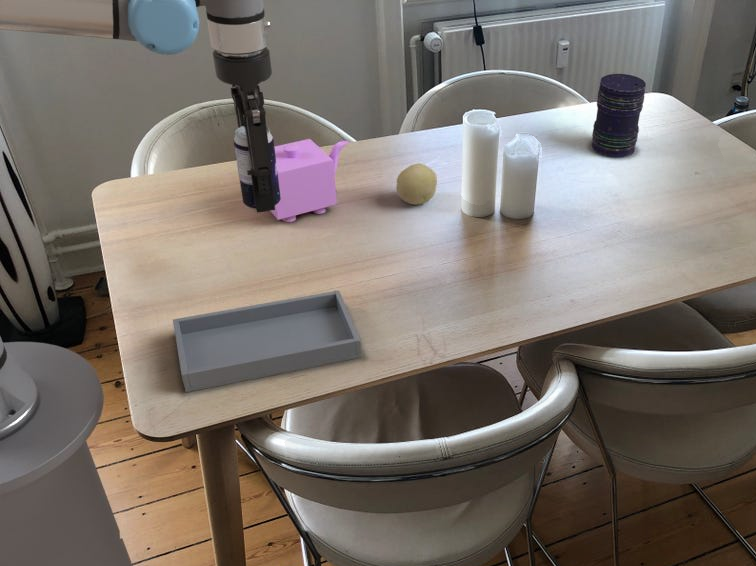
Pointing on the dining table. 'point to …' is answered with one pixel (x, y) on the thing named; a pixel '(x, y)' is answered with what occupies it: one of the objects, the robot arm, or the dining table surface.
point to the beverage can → (245, 165)
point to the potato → (416, 184)
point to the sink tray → (264, 340)
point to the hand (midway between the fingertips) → (261, 199)
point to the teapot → (305, 178)
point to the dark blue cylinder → (618, 115)
